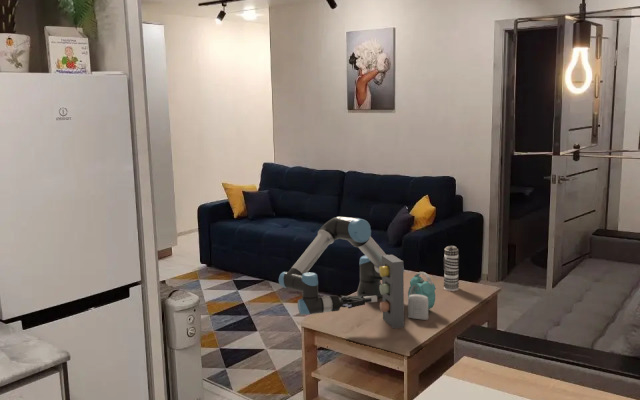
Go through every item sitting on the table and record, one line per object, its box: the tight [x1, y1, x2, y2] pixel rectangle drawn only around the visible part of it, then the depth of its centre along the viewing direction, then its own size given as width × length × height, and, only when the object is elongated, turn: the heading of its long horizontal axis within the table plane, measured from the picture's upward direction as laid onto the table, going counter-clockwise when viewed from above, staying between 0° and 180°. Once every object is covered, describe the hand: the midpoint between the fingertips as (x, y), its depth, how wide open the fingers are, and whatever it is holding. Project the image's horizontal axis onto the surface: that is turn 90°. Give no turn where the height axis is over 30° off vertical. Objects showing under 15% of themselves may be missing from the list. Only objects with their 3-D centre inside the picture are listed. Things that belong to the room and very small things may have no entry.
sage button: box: [379, 283, 390, 294], centre depth 294 cm, size 4×5×5 cm
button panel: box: [381, 254, 405, 329], centre depth 296 cm, size 6×14×33 cm, turn 16°
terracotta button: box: [379, 301, 390, 313], centre depth 296 cm, size 4×5×5 cm
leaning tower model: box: [442, 245, 460, 292], centre depth 347 cm, size 9×9×25 cm
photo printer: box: [407, 294, 429, 321], centre depth 303 cm, size 10×4×12 cm, turn 69°
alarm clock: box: [407, 271, 436, 310], centre depth 314 cm, size 17×10×20 cm, turn 23°
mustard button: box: [379, 266, 390, 277], centre depth 293 cm, size 4×5×5 cm
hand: (376, 298), depth 293 cm, fingers closed
